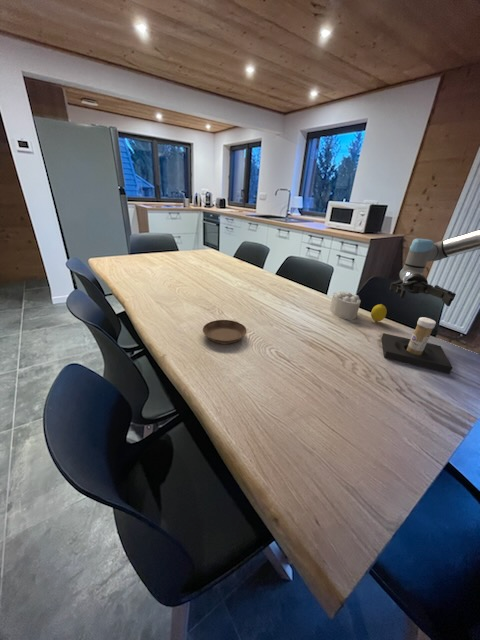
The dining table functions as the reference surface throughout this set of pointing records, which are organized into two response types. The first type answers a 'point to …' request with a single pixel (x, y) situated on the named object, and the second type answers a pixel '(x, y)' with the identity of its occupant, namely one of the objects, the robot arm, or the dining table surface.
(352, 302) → the lumpy-topped squat cylinder
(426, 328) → the sprinkles bottle
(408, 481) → the dining table surface
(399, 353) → the dock pad
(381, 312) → the lemon
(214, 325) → the saucer
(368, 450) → the dining table surface
